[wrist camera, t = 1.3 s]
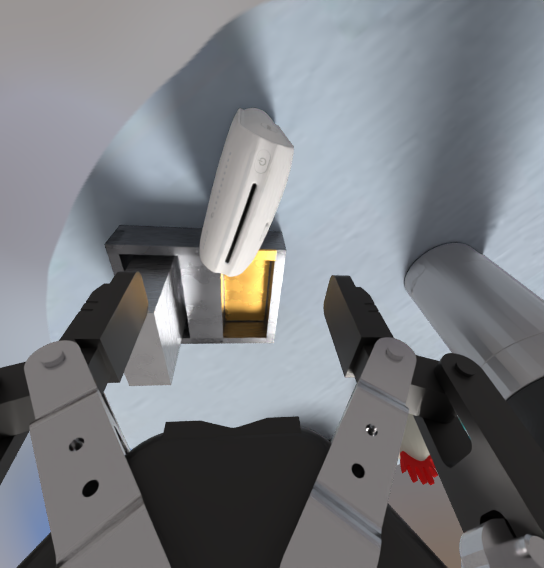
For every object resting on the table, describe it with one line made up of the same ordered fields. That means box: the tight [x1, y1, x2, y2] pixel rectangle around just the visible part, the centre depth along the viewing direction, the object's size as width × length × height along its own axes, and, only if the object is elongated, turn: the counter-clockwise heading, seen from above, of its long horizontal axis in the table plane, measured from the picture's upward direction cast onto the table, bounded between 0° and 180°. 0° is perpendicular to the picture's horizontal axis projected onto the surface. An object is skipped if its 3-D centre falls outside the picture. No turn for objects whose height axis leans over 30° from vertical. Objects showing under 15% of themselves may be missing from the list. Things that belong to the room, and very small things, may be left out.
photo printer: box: [200, 108, 294, 277], centre depth 21 cm, size 10×4×12 cm, turn 158°
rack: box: [104, 225, 286, 386], centre depth 29 cm, size 17×14×11 cm
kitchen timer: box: [398, 414, 438, 485], centre depth 49 cm, size 14×14×15 cm
